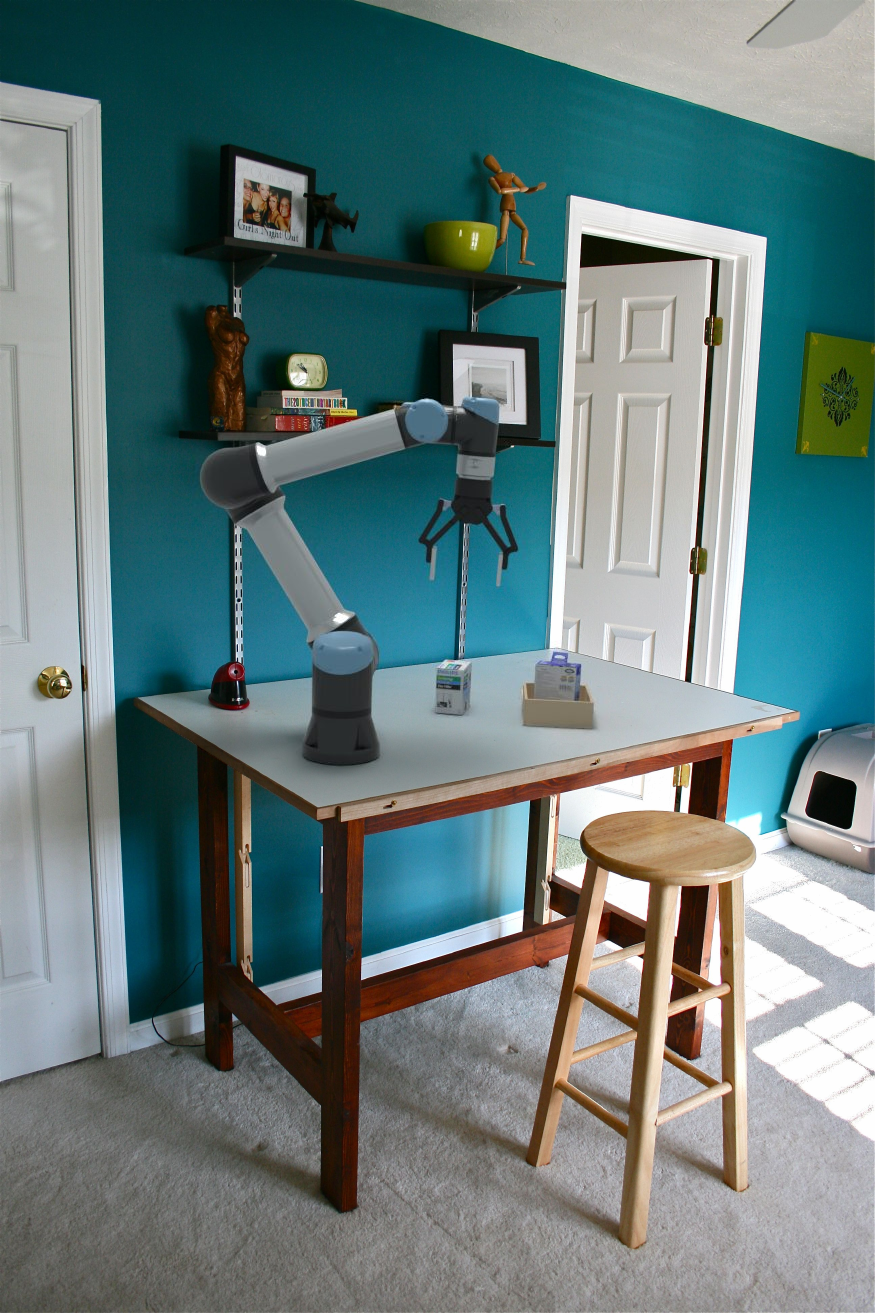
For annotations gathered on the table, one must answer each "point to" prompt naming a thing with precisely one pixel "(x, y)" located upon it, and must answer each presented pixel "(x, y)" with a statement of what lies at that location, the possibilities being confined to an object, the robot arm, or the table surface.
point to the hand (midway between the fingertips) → (464, 582)
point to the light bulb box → (453, 687)
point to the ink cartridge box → (557, 679)
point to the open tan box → (557, 710)
